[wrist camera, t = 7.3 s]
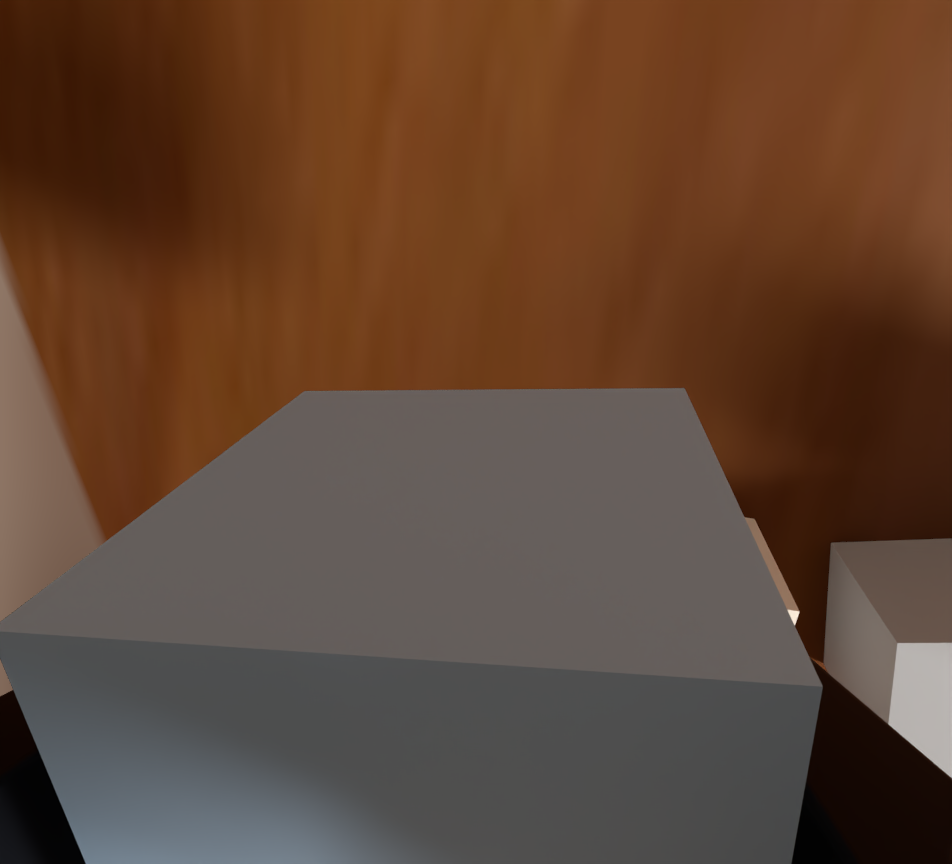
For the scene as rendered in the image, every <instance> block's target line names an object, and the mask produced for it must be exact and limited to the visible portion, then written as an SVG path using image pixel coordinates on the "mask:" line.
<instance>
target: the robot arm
mask: <svg viewBox="0 0 952 864" xmlns="http://www.w3.org/2000/svg"><path fill="white" fill-rule="evenodd" d="M809 658H810V657H809ZM810 660H811V662H812V664H813V666H814V669H815V671H816V673H817V675H818V677H819V679H820V682H821V684H822V686H823V689H822V694H821V700H820V706H819V711H818V717H817V722H816V728H815V734H814V739H813V745H812V750H811V756H810V762H809V767H808V773H807V778H806V784H805V790H804V795H803V801H802V806H801V812H800V818H799V823H798V829H797V834H796V840H795V846H794V851H793V857H792V862H791V864H952V778H951V777H950V776H949V775H947V774H946V773H945V772H944V771H943V770H942V769H940V768H939V767H938V766H937V765H936V764H935V763H933V762H932V761H931V760H930V759H929V758H927V757H926V756H925V755H924V754H923V753H922V752H920V751H919V750H918V749H917V748H916V747H915V746H913V745H912V744H911V743H910V742H909V741H907V740H906V739H905V738H904V737H903V736H902V735H900V734H899V733H898V732H897V731H896V730H895V729H893V728H892V727H891V726H890V725H889V724H888V723H886V722H885V721H884V720H883V719H882V718H880V717H879V716H878V715H877V714H876V713H875V712H873V711H872V710H871V709H870V708H869V707H868V706H866V705H865V704H864V703H863V702H862V701H860V700H859V699H858V698H857V697H856V696H855V695H853V694H852V693H851V692H850V691H849V690H848V689H846V688H845V687H844V686H843V685H842V684H840V683H839V682H838V681H837V680H836V679H835V678H833V677H832V676H831V675H830V674H829V673H828V672H826V671H825V670H824V669H823V668H822V667H820V666H819V665H818V664H817V663H816V662H815V661H813V660H812V659H811V658H810ZM0 864H86V863H85V860H84V858H83V856H82V853H81V851H80V848H79V846H78V844H77V841H76V839H75V837H74V834H73V832H72V829H71V827H70V825H69V822H68V820H67V817H66V815H65V813H64V810H63V808H62V805H61V803H60V801H59V798H58V796H57V793H56V791H55V789H54V786H53V784H52V781H51V779H50V777H49V774H48V772H47V769H46V767H45V765H44V762H43V760H42V758H41V755H40V753H39V750H38V748H37V746H36V743H35V741H34V738H33V736H32V734H31V731H30V729H29V726H28V724H27V722H26V719H25V717H24V714H23V712H22V710H21V707H20V705H19V702H18V700H17V698H16V695H15V693H14V690H12V691H10V692H8V693H6V694H4V695H2V696H0Z"/></svg>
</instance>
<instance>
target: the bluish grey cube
mask: <svg viewBox="0 0 952 864" xmlns="http://www.w3.org/2000/svg"><path fill="white" fill-rule="evenodd" d="M0 659H1V662H2V664H3V667H4V669H5V671H6V674H7V676H8V679H9V681H10V683H11V686H12V688H13V690H14V693H15V695H16V698H17V700H18V702H19V705H20V707H21V710H22V712H23V714H24V717H25V719H26V722H27V724H28V726H29V729H30V731H31V734H32V736H33V738H34V741H35V743H36V746H37V748H38V750H39V753H40V755H41V758H42V760H43V762H44V765H45V767H46V769H47V772H48V774H49V777H50V779H51V781H52V784H53V786H54V789H55V791H56V793H57V796H58V798H59V801H60V803H61V805H62V808H63V810H64V813H65V815H66V817H67V820H68V822H69V825H70V827H71V829H72V832H73V834H74V837H75V839H76V841H77V844H78V846H79V848H80V851H81V853H82V856H83V858H84V860H85V863H86V864H791V862H792V857H793V851H794V846H795V840H796V834H797V829H798V823H799V818H800V812H801V806H802V801H803V795H804V790H805V784H806V778H807V773H808V767H809V762H810V756H811V750H812V745H813V739H814V734H815V728H816V722H817V717H818V711H819V706H820V700H821V694H822V689H823V686H822V684H821V682H820V679H819V677H818V675H817V673H816V671H815V669H814V666H813V664H812V662H811V660H810V658H809V656H808V654H807V651H806V649H805V647H804V645H803V643H802V641H801V638H800V636H799V634H798V632H797V630H796V628H795V625H794V623H793V621H792V619H791V617H790V615H789V613H788V610H787V608H786V606H785V604H784V602H783V600H782V597H781V595H780V593H779V591H778V589H777V587H776V584H775V582H774V580H773V578H772V576H771V574H770V572H769V569H768V567H767V565H766V563H765V561H764V559H763V556H762V554H761V552H760V550H759V548H758V546H757V543H756V541H755V539H754V537H753V535H752V533H751V531H750V528H749V526H748V524H747V522H746V520H745V518H744V515H743V513H742V511H741V509H740V507H739V505H738V502H737V500H736V498H735V496H734V494H733V492H732V490H731V487H730V485H729V483H728V481H727V479H726V477H725V474H724V472H723V470H722V468H721V466H720V464H719V461H718V459H717V457H716V455H715V453H714V451H713V449H712V446H711V444H710V442H709V440H708V438H707V436H706V433H705V431H704V429H703V427H702V425H701V423H700V420H699V418H698V416H697V414H696V412H695V410H694V408H693V405H692V403H691V401H690V399H689V397H688V395H687V392H686V390H685V388H637V389H513V390H389V391H304V392H303V393H301V394H300V395H299V396H297V397H296V398H295V399H294V400H292V401H291V402H290V403H288V404H287V405H286V406H284V407H283V408H282V409H280V410H279V411H278V412H276V413H275V414H274V415H272V416H271V417H270V418H268V419H267V420H266V421H264V422H263V423H262V424H261V425H259V426H258V427H257V428H255V429H254V430H253V431H251V432H250V433H249V434H247V435H246V436H245V437H243V438H242V439H241V440H239V441H238V442H237V443H235V444H234V445H233V446H232V447H230V448H229V449H228V450H226V451H225V452H224V453H222V454H221V455H220V456H218V457H217V458H216V459H214V460H213V461H212V462H210V463H209V464H208V465H206V466H205V467H204V468H202V469H201V470H200V471H199V472H197V473H196V474H195V475H193V476H192V477H191V478H189V479H188V480H187V481H185V482H184V483H183V484H181V485H180V486H179V487H177V488H176V489H175V490H173V491H172V492H171V493H169V494H168V495H167V496H166V497H164V498H163V499H162V500H160V501H159V502H158V503H156V504H155V505H154V506H152V507H151V508H150V509H148V510H147V511H146V512H144V513H143V514H142V515H140V516H139V517H138V518H137V519H135V520H134V521H133V522H131V523H130V524H129V525H127V526H126V527H125V528H123V529H122V530H121V531H119V532H118V533H117V534H115V535H114V536H113V537H111V538H110V539H109V540H107V541H106V542H105V543H104V544H102V545H101V546H100V547H98V548H97V549H96V550H94V551H93V552H92V553H90V554H89V555H88V556H86V557H85V558H84V559H82V560H81V561H80V562H79V563H77V564H76V565H74V566H73V567H72V568H71V569H69V570H68V571H67V572H65V573H64V574H63V575H62V576H60V577H59V578H57V579H56V580H55V581H53V582H52V583H51V584H49V585H48V586H47V587H45V588H44V589H43V590H42V591H40V592H39V593H38V594H37V595H35V596H34V597H32V598H31V599H30V600H28V601H27V602H26V603H25V604H23V605H22V606H20V607H19V608H18V609H17V610H15V611H14V612H12V614H10V615H9V616H7V617H6V618H5V619H4V620H2V621H1V622H0Z"/></svg>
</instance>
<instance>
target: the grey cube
mask: <svg viewBox="0 0 952 864" xmlns="http://www.w3.org/2000/svg"><path fill="white" fill-rule="evenodd" d="M824 665H825V667H826V669H827V672H828V673H829V674H830V675H831V676H832V677H833V678H835V679H836V680H837V681H838V682H839V683H840V684H842V685H843V686H844V687H845V688H846V689H848V690H849V691H850V692H851V693H852V694H853V695H855V696H856V697H857V698H858V699H859V700H860V701H862V702H863V703H864V704H865V705H866V706H868V707H869V708H870V709H871V710H872V711H873V712H875V713H876V714H877V715H878V716H879V717H880V718H882V719H883V720H884V721H885V722H886V723H888V724H889V725H890V726H891V727H892V728H893V729H895V730H896V731H897V732H898V733H899V734H900V735H902V736H903V737H904V738H905V739H906V740H907V741H909V742H910V743H911V744H912V745H913V746H915V747H916V748H917V749H918V750H919V751H920V752H922V753H923V754H924V755H925V756H926V757H927V758H929V759H930V760H931V761H932V762H933V763H935V764H936V765H937V766H938V767H939V768H940V769H942V770H943V771H944V772H945V773H946V774H947V775H949V776H950V777H951V778H952V538H948V539H920V540H892V541H864V542H836V543H831V549H830V566H829V582H828V598H827V614H826V630H825V646H824Z"/></svg>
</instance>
